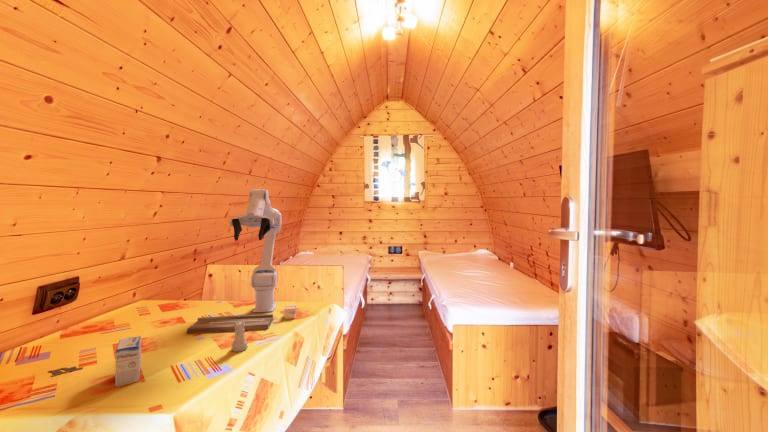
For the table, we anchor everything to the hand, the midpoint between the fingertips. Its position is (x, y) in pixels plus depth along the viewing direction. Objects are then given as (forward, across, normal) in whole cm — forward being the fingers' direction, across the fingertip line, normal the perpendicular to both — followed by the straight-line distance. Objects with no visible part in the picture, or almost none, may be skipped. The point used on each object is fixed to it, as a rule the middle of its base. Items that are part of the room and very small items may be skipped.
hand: (247, 238), depth 106 cm
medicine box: (+40, -22, +7) cm, 46 cm away
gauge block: (+9, +12, +35) cm, 38 cm away
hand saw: (+32, -32, +15) cm, 48 cm away
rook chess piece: (+30, 0, +16) cm, 34 cm away
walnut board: (+15, -7, +30) cm, 34 cm away
